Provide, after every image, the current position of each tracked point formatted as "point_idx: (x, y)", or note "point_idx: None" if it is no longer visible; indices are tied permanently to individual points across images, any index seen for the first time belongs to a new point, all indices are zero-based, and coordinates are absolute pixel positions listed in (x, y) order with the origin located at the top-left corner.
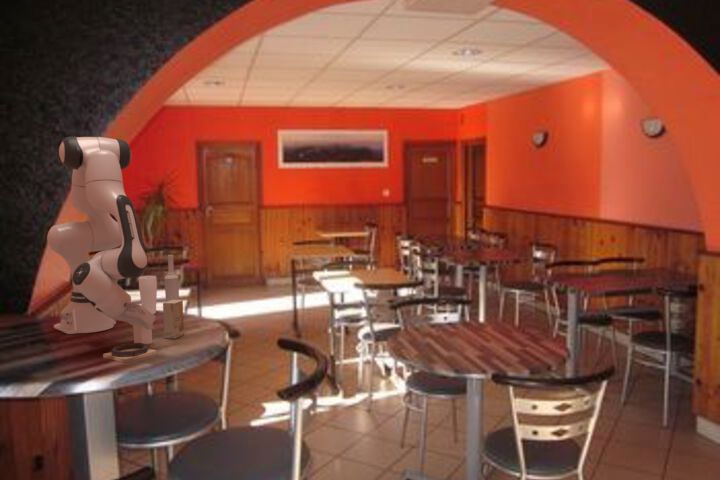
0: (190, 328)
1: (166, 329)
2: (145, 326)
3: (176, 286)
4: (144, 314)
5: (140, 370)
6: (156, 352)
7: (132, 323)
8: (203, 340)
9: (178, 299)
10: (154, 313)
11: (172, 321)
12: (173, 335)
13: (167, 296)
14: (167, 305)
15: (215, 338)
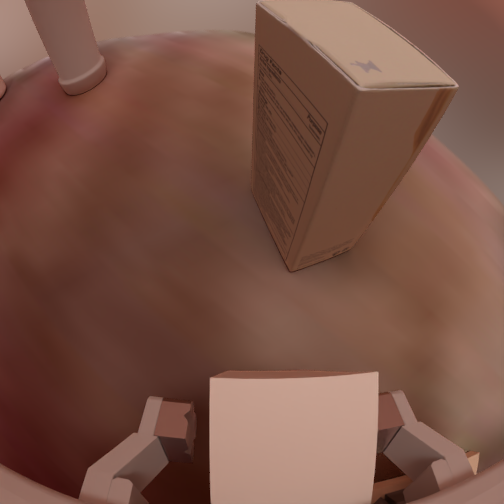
0: (238, 99)
1: (319, 245)
2: (397, 466)
3: None
4: (458, 501)
5: None
6: (473, 453)
7: (166, 458)
8: (454, 207)
9: (86, 9)
10: (4, 91)
11: (380, 200)
12: (349, 244)
13: (46, 18)
14: (404, 110)
15: (454, 169)
